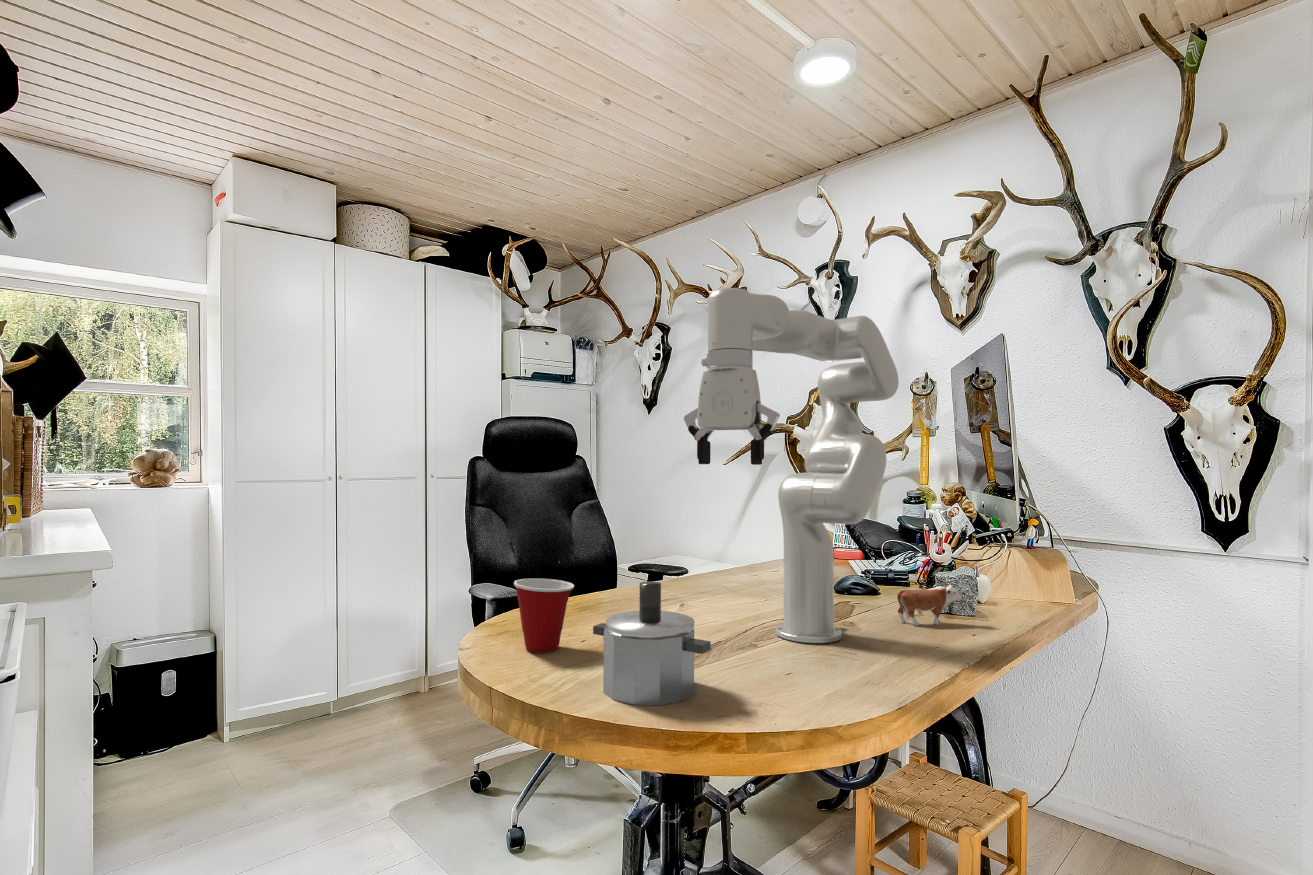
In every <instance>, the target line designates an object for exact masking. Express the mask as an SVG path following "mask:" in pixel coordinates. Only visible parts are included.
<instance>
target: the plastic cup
mask: <svg viewBox="0 0 1313 875" xmlns="http://www.w3.org/2000/svg"><path fill="white" fill-rule="evenodd" d="M513 586H514V587H515V591H516V595H517V601H518V608H519V615H520V623H521V629H522V633H523V640H524V647H525V649H526V651H527V652H530V653H531V654H533V653H535V654H546V653H551V652H555V651H557V650H558V649H559V645H560V642H561V641H560V640H561V634H562V631H563V628H564V627H563V626H564V620H565V616H566V615H565V614H566V611H567V606H568V605H567V603H568V601H569V597H570V594H571V593H572V590H573V589H574V587H575V584H573V583H572V582H569V581H566V580H565V581H564V580H561V579H560V580H559V579H551V578H522V579H517V580H514V582H513Z"/></svg>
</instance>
